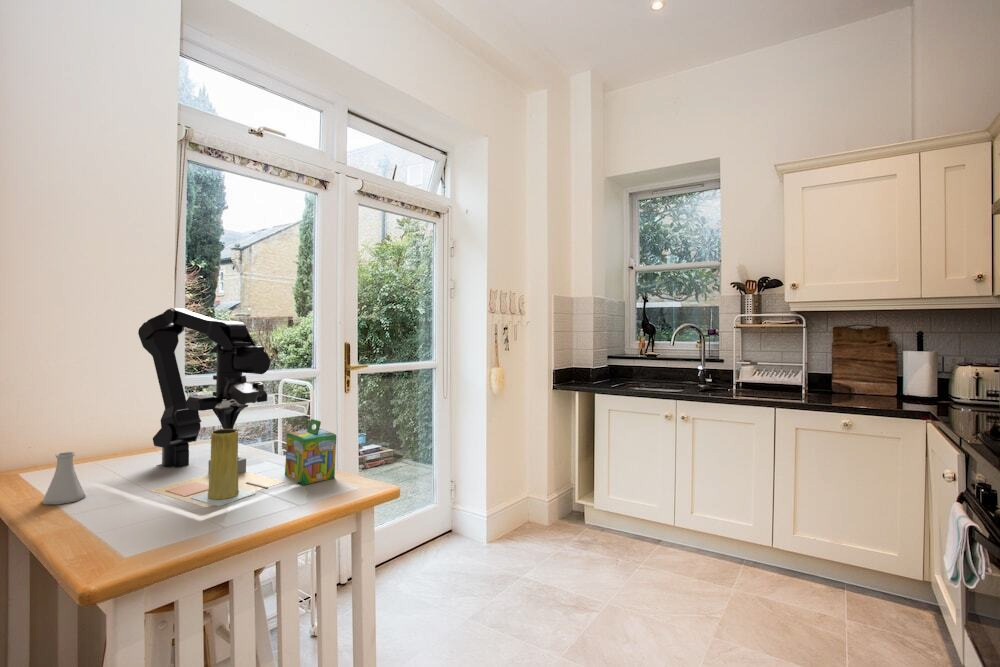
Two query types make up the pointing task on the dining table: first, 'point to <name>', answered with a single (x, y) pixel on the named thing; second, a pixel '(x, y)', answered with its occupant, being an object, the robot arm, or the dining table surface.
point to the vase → (223, 464)
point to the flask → (64, 482)
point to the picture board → (199, 486)
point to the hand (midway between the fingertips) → (228, 433)
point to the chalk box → (310, 454)
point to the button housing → (240, 465)
